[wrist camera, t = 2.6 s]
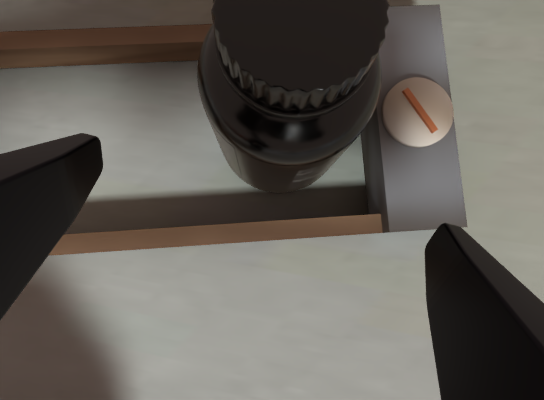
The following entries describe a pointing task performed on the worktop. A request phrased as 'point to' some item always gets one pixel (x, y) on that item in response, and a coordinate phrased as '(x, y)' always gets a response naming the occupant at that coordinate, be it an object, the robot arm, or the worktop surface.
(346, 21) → the supplement bottle
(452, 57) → the worktop surface
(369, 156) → the wooden frame
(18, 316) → the worktop surface
